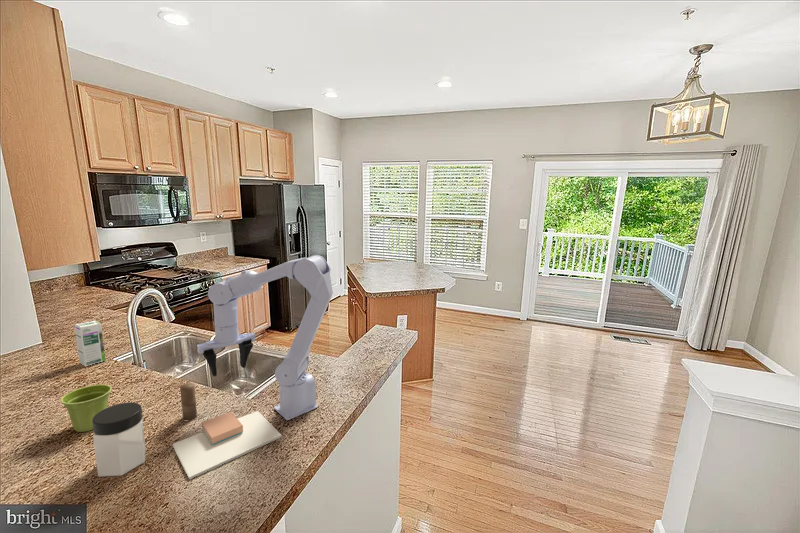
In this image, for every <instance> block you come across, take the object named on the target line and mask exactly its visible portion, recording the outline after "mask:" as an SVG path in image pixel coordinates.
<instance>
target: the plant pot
mask: <svg viewBox="0 0 800 533" xmlns="http://www.w3.org/2000/svg"><path fill="white" fill-rule="evenodd" d="M112 389H113V388H112V386H111V385H109V384H92V385H87V386H84V387H83V386H82V387H81V388H80V387H79V388H77V389H75V390H72V391H70V392H68V393H65V395H63V396H62V397H61V398H60V402H61V403H62V405H64V408H66V410H67V413H68V416H69V418H70V422H71V424H72V427H73V430H74V431H76V432H77V433H84V432H90V431H93V423H92V419H93V417H94V416H95V415H96V414H97V413H99V412H100V411H102V410H104V409H106V408H108V407H109V406H108V403H109V396H110V394H111V393H110V392H111V391H112Z"/></svg>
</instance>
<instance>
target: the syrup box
mask: <svg viewBox="0 0 800 533" xmlns="http://www.w3.org/2000/svg"><path fill="white" fill-rule="evenodd" d="M102 327H103V326H102V323H101V322H100V321H97V320H92V321H87V322H81V323H77V324H74V333H75V339H76V346H77V354H78V361H79V362H80V363H81V364H82V365H81V364H80V363H79V364H80V365H81V366H83V365H84V366H88V365H91V366H93V365H92V364H94V365H96V364H95V363H98V364H100V363H99V362H102V363H104V362H103V361H105V362H106V361H107V360H106V352H105V345H104V336H103V328H102ZM84 366H83V367H84ZM88 367H89V366H88Z"/></svg>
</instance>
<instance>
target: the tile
mask: <svg viewBox="0 0 800 533" xmlns="http://www.w3.org/2000/svg"><path fill="white" fill-rule="evenodd" d="M201 430H202V432H204V433H205V434H206V436H207V437H208V439H209V440H210V442H211V444H212V445H215V444H217V443H219V442H222V441H224V440H226V439H229V438H231V437H234V436H236V435H238V434H241V433H243V425H242V424H241V423H240V421H239V420H238V418H237V417H236V416H235V414H234V413H233V411H229V412H226V413H223V414H221V415H217V416H216V417H212V418H210V419H207V420H205V421H202V422H201Z"/></svg>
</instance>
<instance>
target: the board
mask: <svg viewBox="0 0 800 533" xmlns="http://www.w3.org/2000/svg"><path fill="white" fill-rule="evenodd" d="M237 419H238V420H239V421H240V423H241V424H242V425H243V433H241V434H238V435H236V436H234V437H231V438H229V439H226V440H224V441H222V442H219V443H217V444H215V445H212V444H211V442H210V440H209V439H208V437H207V436H206V434H205V433H204V431H202V432H199V433H197V434H195V435H191V436H190V437H187V438H184V439H181V440H179V441H177V442H174V443H172V448H173V450H174V452H175V454H176V456H177V458H178V460H179V462H180V464H181V466H182V468H183V470H184V473H185V475H186V474H187V475H186V476H188V477H187V479H188V478H189V479H190V480H192V478H193V479H194V477H195V478H197V477H199V476H201V475H203V474H205V473H208V472H210V471H212V470H214V469H216V468H218V467H220V466H222V464H223V465H225V464H227V463H230V462H231V461H233V460H236V459H238V458H240V457H242V456H244V455H246V454H248V453H251V452H253V451H254V450H257V449H260V448H261V447H263V446H265V445H267V444H269V443H272V442H274V441H277V440H279V439H280V438H282V434H281V433H280V432H279V430H278V429H276V428H275V427H274V426H273V425H272V423H270V422H269V421H268V420H267V419H266V418H265V416H263V415H262V413H261V412H259V410H257V411H254V412H251V413H249V414H246V415H244V416H241V417H239V418H237ZM224 463H225V464H224ZM207 471H208V472H207ZM196 476H197V477H196ZM189 479H188V480H189Z"/></svg>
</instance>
